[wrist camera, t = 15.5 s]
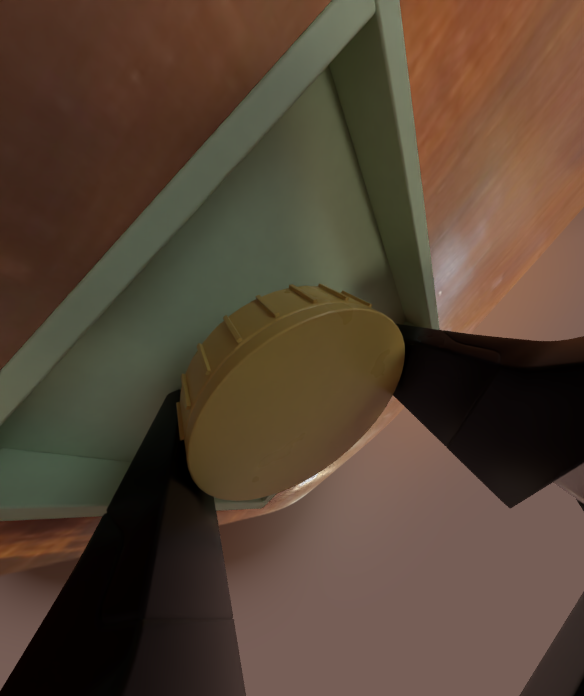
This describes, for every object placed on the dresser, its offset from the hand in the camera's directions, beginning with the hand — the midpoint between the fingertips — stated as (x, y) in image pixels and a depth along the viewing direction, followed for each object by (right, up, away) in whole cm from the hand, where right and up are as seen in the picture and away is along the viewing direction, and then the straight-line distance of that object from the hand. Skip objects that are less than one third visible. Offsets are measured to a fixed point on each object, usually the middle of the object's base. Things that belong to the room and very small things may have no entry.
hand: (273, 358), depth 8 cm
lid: (+1, -1, -2) cm, 3 cm away
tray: (0, 0, 0) cm, 0 cm away
